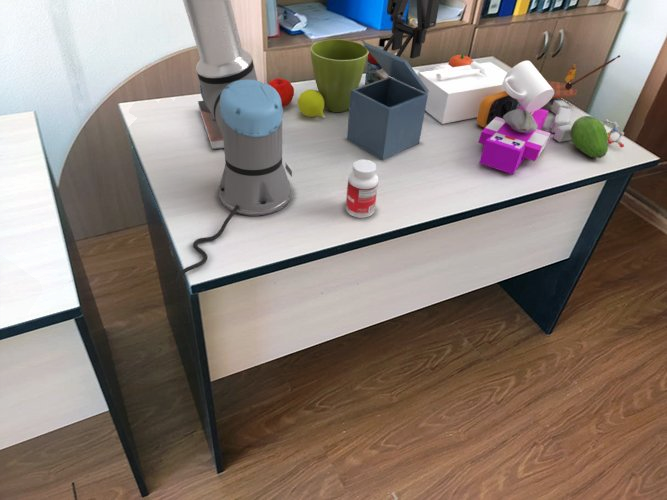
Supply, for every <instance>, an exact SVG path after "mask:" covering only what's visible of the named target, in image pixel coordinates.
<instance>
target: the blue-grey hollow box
mask: <svg viewBox="0 0 667 500" xmlns="http://www.w3.org/2000/svg"><path fill="white" fill-rule="evenodd" d="M427 97H428V94H426V93H424V92H422V91H419V90H417V89H416V88H413V87H411V86H409V85H406V84H404V83H402V82H400V81H398V80H396V79H394V78H392V77H390V76H389V77H387V78H384V79H381V80H378V81H376V82H373V83H370V84H367V85H365V84H364V85H362V86H358V88H356V89H353V90H351V96H350V107H349V109H348V119H347V120H348V124H347V132H346V133H347V134H346V140H347V141H348V142H350V143H352V144H354V145H356V146H357V147H359V148H360V149H362V150H364V151H365V152H368V153H369V154H371V155H372V156H374V157H376V158H378V159H379V160H381V161H384V160H386V159H389V158H391V157H393V156H395V155H397V154H400V153H402V152H404V151H406V150H408V149H410V148H412V147H414V146H416V145H418V144H420V139H421V135H422V129H423V123H424V120H425V119H424V118H425V113H426V111H425V108H426V102H427Z"/></svg>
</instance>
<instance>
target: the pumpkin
mask: <svg viewBox="0 0 667 500" xmlns="http://www.w3.org/2000/svg"><path fill="white" fill-rule="evenodd" d="M472 62H474V61H473V59H472V58H471V57H470V56H468V55H464V53H462V54H456V55H453V56H451V57H450V58H449V60H448V63H447V64H448V65H450V66H451V67H459V66H466V65H470V64H471V63H472Z"/></svg>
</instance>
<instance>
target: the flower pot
mask: <svg viewBox="0 0 667 500" xmlns="http://www.w3.org/2000/svg"><path fill="white" fill-rule="evenodd" d="M368 53H369V51H368V50H367V49H366V48H365V46H364V44H362V43H359V42H357V41H354V40H348V39H341V38H330V39H329V38H328V39H323V40H320V41H319V40H318V41H317V42H313V43H312V44H311V46H310V57H311V65H312V71H313V75H314V82H315V84H316V88H317V89H316V90H317V91H318V92H319V93H321V95H322V96H323V98H324V109H325V110H326V111H328V112H332V113H342V112H346V111H349V108H350V96H351V90H353V89H356V88H358V87H360V84H361V81H362V78H363V74H364V71H365V67H366V64H367V57H368Z"/></svg>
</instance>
